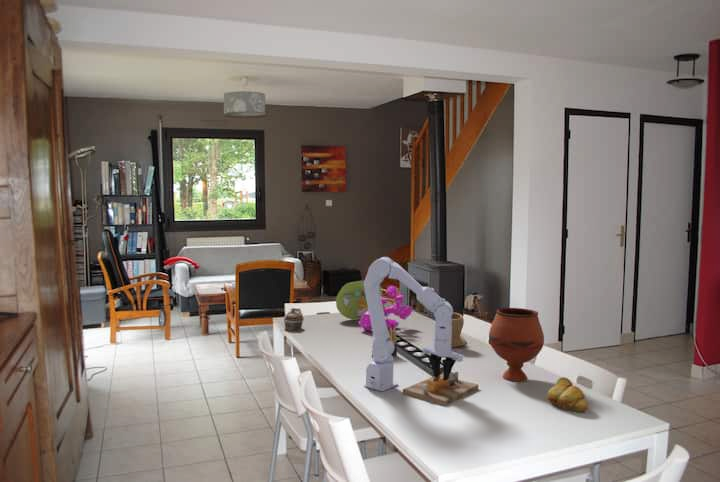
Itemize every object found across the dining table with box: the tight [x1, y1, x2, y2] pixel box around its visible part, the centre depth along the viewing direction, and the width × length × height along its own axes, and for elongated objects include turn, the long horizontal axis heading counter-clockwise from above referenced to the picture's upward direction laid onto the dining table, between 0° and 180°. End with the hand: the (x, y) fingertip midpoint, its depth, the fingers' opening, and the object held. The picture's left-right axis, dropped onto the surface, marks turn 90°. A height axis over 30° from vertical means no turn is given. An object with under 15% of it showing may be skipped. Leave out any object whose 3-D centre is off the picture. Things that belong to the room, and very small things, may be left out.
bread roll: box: [547, 376, 589, 412], centre depth 176 cm, size 13×10×8 cm
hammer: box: [426, 371, 455, 393], centre depth 188 cm, size 13×4×4 cm, turn 140°
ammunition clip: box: [371, 327, 398, 358], centre depth 229 cm, size 11×2×12 cm, turn 115°
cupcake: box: [283, 307, 305, 332], centre depth 275 cm, size 10×10×10 cm
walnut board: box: [402, 370, 479, 407], centre depth 188 cm, size 22×16×4 cm
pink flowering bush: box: [335, 279, 414, 332], centre depth 286 cm, size 30×28×35 cm
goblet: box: [488, 307, 545, 383], centre depth 203 cm, size 19×19×25 cm
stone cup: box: [451, 312, 468, 348], centre depth 248 cm, size 15×12×15 cm
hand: (441, 378), depth 188 cm, fingers closed on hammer, 3 cm apart
